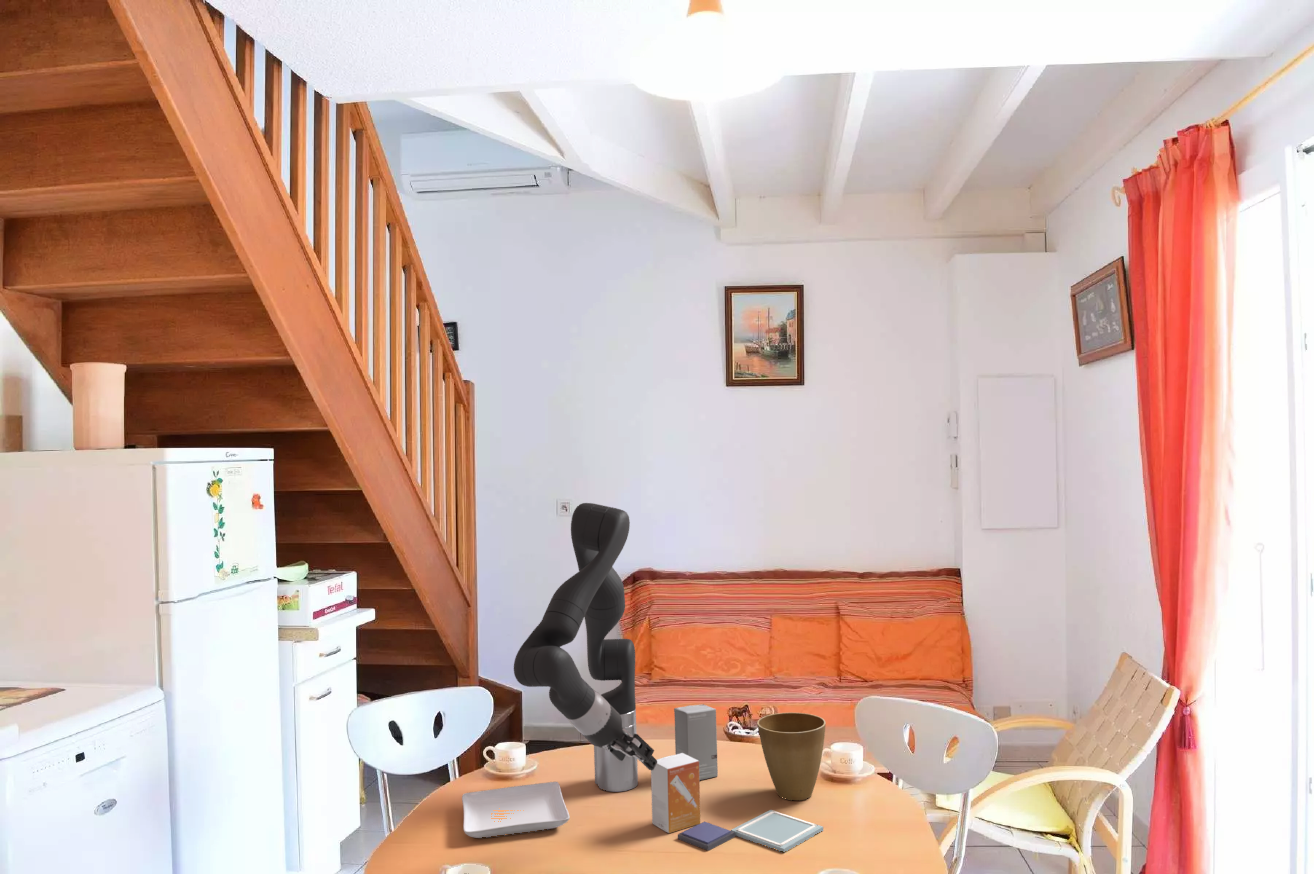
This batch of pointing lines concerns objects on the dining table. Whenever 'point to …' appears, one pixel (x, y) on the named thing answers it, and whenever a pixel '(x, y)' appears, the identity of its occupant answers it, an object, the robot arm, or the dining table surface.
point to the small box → (675, 793)
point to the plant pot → (792, 751)
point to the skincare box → (697, 737)
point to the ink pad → (706, 835)
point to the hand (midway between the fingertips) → (638, 761)
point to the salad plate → (535, 799)
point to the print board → (777, 830)
